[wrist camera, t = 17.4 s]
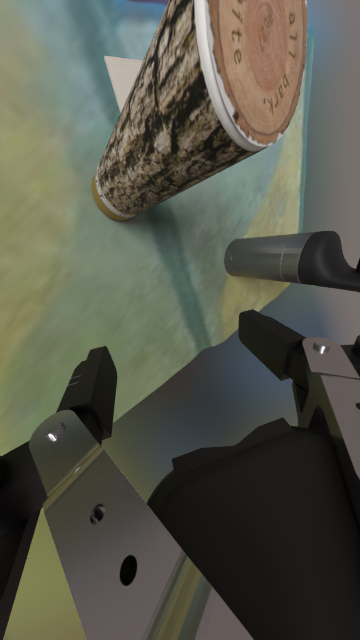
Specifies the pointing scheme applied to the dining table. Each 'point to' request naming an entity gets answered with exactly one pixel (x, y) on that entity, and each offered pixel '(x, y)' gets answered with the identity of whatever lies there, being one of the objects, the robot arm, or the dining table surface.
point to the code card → (122, 76)
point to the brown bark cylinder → (203, 99)
